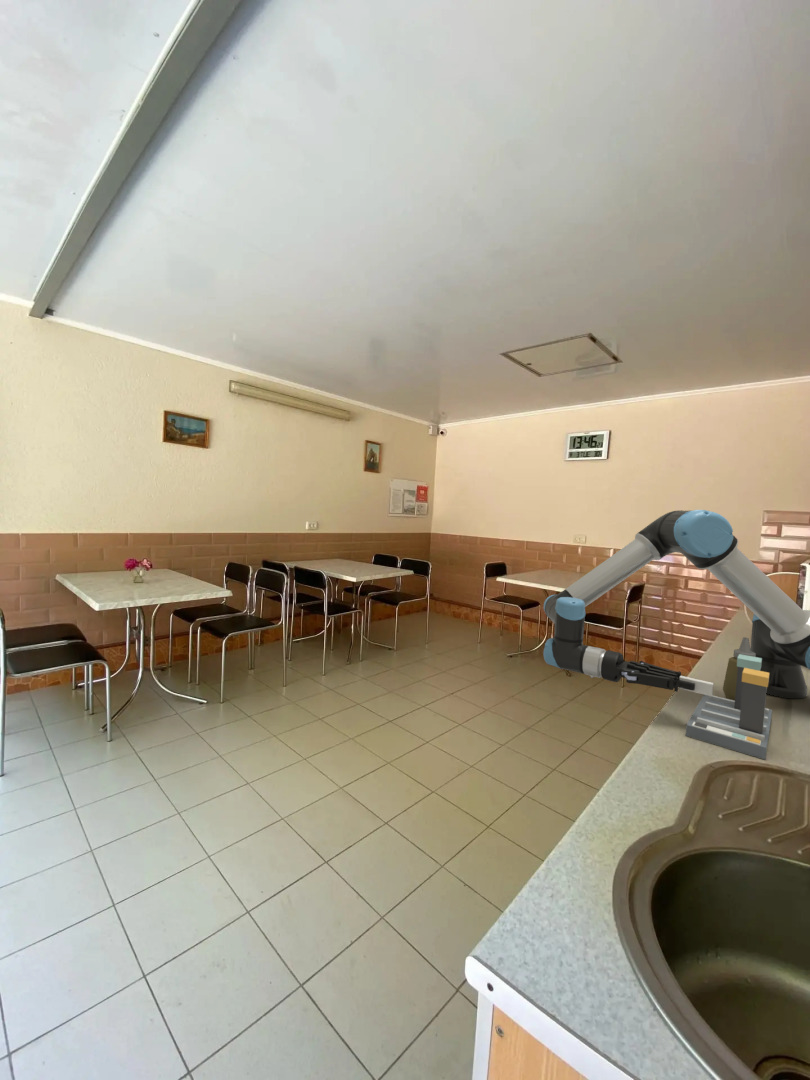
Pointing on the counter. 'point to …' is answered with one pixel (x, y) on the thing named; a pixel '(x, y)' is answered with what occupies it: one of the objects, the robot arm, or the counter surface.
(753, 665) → the mint capped grey block
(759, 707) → the orange capped grey block
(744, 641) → the squeeze bottle
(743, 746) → the console
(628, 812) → the counter surface
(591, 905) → the counter surface
